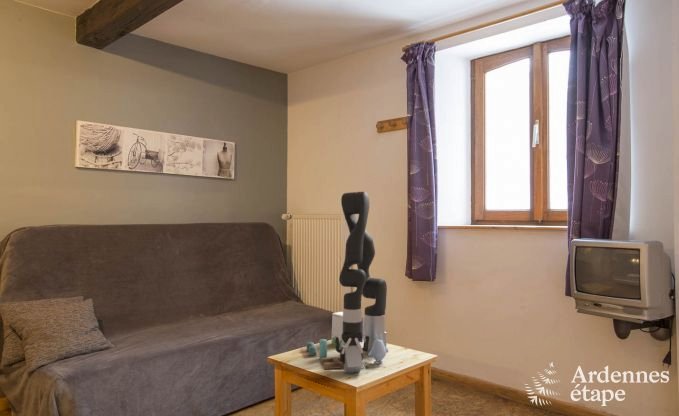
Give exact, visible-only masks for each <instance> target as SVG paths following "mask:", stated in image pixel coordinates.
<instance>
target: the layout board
mask: <svg viewBox="0 0 679 416" xmlns="http://www.w3.org/2000/svg"><path fill="white" fill-rule="evenodd" d="M314 344H315V343H314V342H313V341H307V342H306V348H304V349H303V348H301V349H299V350H300V352H301V354H302V356H303V358H304V359H311V358H312V359H314V358H315V359H316V358H319V347H317V346H315V345H314Z"/></svg>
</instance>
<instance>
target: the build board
mask: <svg viewBox="0 0 679 416" xmlns="http://www.w3.org/2000/svg"><path fill="white" fill-rule="evenodd" d="M341 348H342V347H341V343H340V349H341ZM340 355H341V354H340V353H339V356H333V357H331V356H330V357H327V358H321V360H320V362H321V364H322V366H323V367H324V368H323V370H324V371H337V370H344V363H342V362H341V360H340Z"/></svg>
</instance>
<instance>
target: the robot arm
mask: <svg viewBox="0 0 679 416" xmlns="http://www.w3.org/2000/svg"><path fill="white" fill-rule="evenodd" d="M340 201H341V203H340V204H341V208H342V212H343V215H344V218H345V221H346V224H347V227H348V231H349V235H348V237H347V240H346V242H345V251H344V253H345V255H344V262H343V266H342V268H341V271H340V274H339V277H338V280H339V283H340V285H341V286H342V287H343V288H344V287H346V288H347V287H348V288H356V289H355V290H354V291H350V292H346V293H344V295H343V308H342V309H343V311H342V312H343V332H342V335H341V336H338V337H337V336H335V337H334V338H335V345H334V347H335V351H336V352H337V353H338V354H339V357H340V360H341V362H342V363H345V354H344V353H345V348H346V349H347V348H348V346H356V345H357V346H358V348H360V350H361V356H362V361H363V359H364V354H365V355H368V354H369V352H370V351H371V349H372V346H373V344H374V342H375V336H376V335H377V336H378V339H379V337H380V334H382V339H381V340H382V342H383V344H384V346H385V347H386V348H387V332H386V308H387V291H388V289H387V288H388V285H387V281H386V280H385V279H384V278H377V277H376V278H375V277H371V276H370V267H371V265H372V262H373V260H374V258H375V255H376V248H375V244H374V239H373V238H372V236H371V234H370V233H369V232H368V231H367V230H366V227H367V222H368V219H369V218H368V216H369V212H370V198H369V195H368V193H367V192H366V191H353V192H350V191H349V192H344V193H343V194H342V195H341V199H340ZM357 215H358V218H357ZM354 265H356V267H357V269H356V268H351V267H352V266H354ZM362 297H364V298H366V299H371V300H375V301H374V304H372V305H368V306H365V308H364V317H363V316H362V315H363V313H362ZM362 318H363V319H364V320H363V321H364V322H363V323H364V324H363V330H364V332H363V335H362V333H361V331H362ZM362 338H363V345H361V342H360V341H361V339H362ZM341 339H342V340H343V341H344V342H345V346H344V343H343V345H342V348H341V349H340V346H339V342H340V341H341ZM340 354H341V355H340Z"/></svg>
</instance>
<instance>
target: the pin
mask: <svg viewBox="0 0 679 416" xmlns="http://www.w3.org/2000/svg"><path fill="white" fill-rule="evenodd" d="M318 346H319V347H318V350H319V357H318V358H319V360H320V361H321V358H328V339H326V338H324V339H323V338H322V339H319V345H318Z"/></svg>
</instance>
